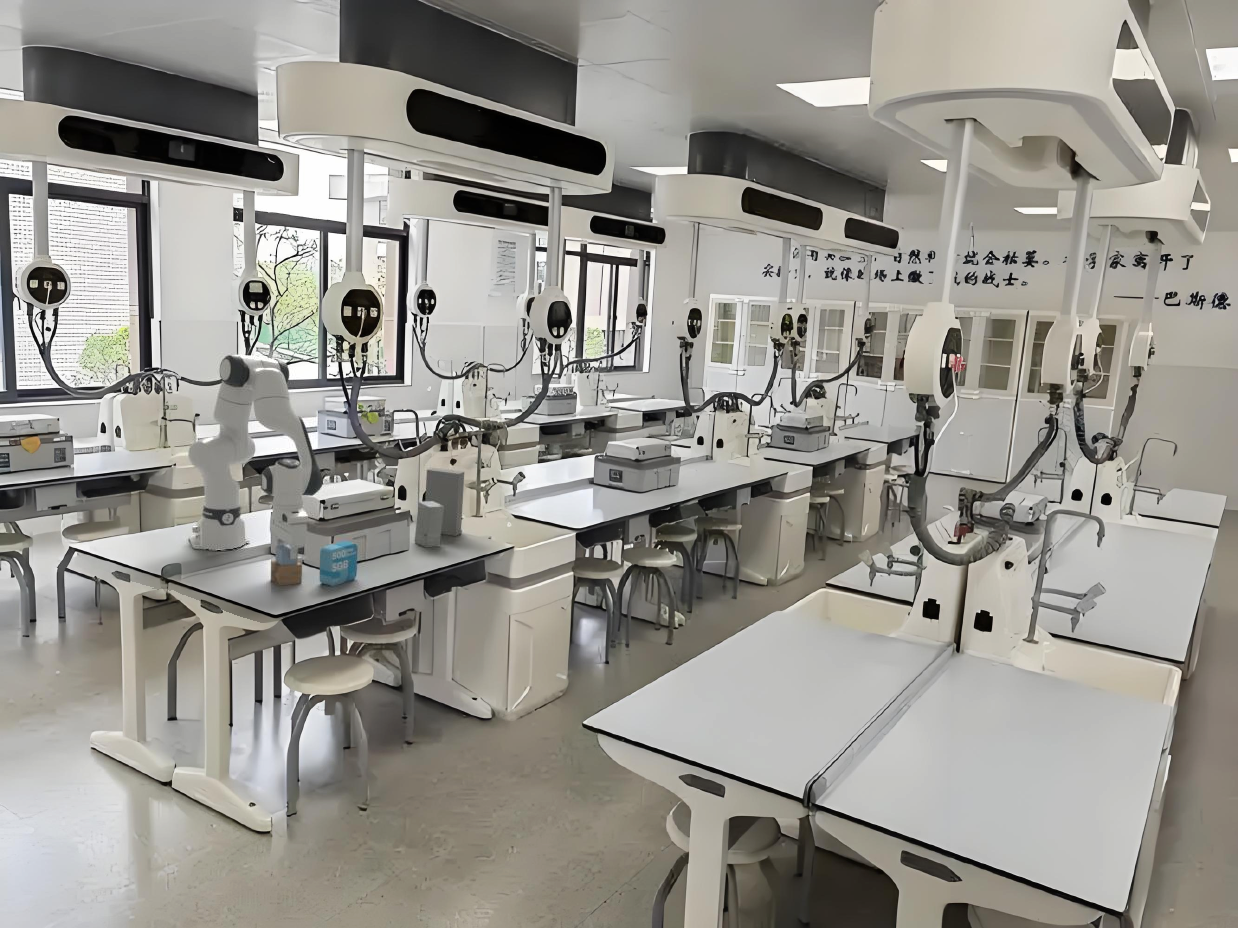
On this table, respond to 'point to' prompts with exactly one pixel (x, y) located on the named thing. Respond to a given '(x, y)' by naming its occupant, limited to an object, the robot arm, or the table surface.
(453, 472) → the tall grey upright box
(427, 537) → the skincare box
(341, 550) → the data package
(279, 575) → the cardboard box
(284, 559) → the slate-blue block
